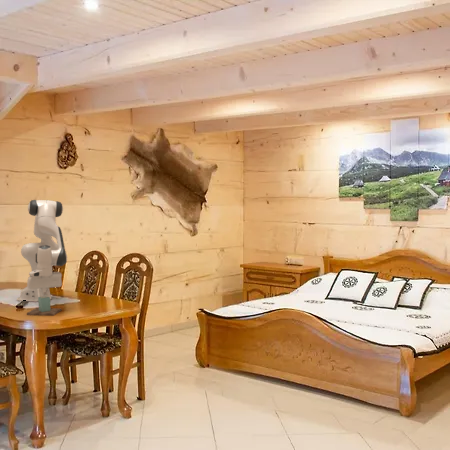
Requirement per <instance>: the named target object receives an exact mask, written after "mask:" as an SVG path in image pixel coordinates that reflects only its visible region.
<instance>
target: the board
mask: <svg viewBox="0 0 450 450" xmlns="http://www.w3.org/2000/svg"><path fill="white" fill-rule="evenodd" d="M62 310H63V309H62V308H58V307H56V308H51V307H50V311H45V312H41V311H39V307H35V308H33V309H32V310H30V311H28V312H26V315H27V316H51V317H52V316H55V315H57V314H58V313H60V312H61V311H62Z"/></svg>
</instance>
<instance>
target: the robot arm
mask: <svg viewBox="0 0 450 450" xmlns="http://www.w3.org/2000/svg"><path fill="white" fill-rule="evenodd" d="M27 211H28V214H29V215H31V216H33V217H34V225H33V235H35V237H36V238H37V239H40V241H39V242H29V243H25V244H23V245H22V247H21V248H20V249H21V250H20V253H21V256H22V257H23V258H24V259H25V260H26V261H28V263H29V265H30V269H31V271H30V272H28V278H27V281H26V282H27V283H26V286H25V287H24V288H23V289H22V290H21V291H20V295H19V297H17V298H16V301H17V302H19V301H20V302H24V301H23V300H26V301H25V302H35V303H37V302H38V297H45V296H47V297H50V301H51V300H52V296H51V292H50V288H60V287H62V286H63V285H62V283H63V281H62V278H63V277H62V276H63V274H62V273H61V272H60V271H53V266H57V267H63V266H64V265H65V264H67V261H68V254H67V251H66V248H65V243H64V242H65V241H64V237H63V232H62V229H61V227H60V226H59V225H57V222H56V221H57V219H56V218H59V217H61V216H62V214H63V211H64V206H63V203H62V202H60V201H56V200H55V201H54V200H48V199H46V200H45V199H44V200H43V199H38V200H37V199H33V200H32V199H31V200H30V201H29V203H28V205H27ZM52 237H53V238H54V239H55V240H56V242H55V241H54V240H53V238H52Z"/></svg>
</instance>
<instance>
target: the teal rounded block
mask: <svg viewBox="0 0 450 450" xmlns="http://www.w3.org/2000/svg"><path fill="white" fill-rule="evenodd" d="M37 304H38V308H39V311H41V312H45V311H50V308H51V300H50V297H47V296H45V297H38V303H37Z"/></svg>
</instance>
